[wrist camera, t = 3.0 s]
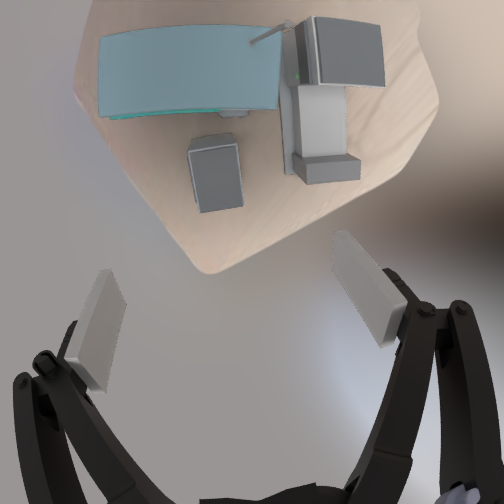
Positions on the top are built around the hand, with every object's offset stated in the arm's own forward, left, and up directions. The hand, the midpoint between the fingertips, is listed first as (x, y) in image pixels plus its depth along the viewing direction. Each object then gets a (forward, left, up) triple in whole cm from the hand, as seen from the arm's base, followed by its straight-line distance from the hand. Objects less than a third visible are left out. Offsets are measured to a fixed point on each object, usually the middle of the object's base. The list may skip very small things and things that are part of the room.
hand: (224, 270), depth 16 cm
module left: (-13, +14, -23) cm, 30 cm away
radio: (-12, -1, -24) cm, 26 cm away
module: (0, 0, -23) cm, 23 cm away
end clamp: (+1, +14, -23) cm, 27 cm away
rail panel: (-7, +13, -23) cm, 28 cm away
